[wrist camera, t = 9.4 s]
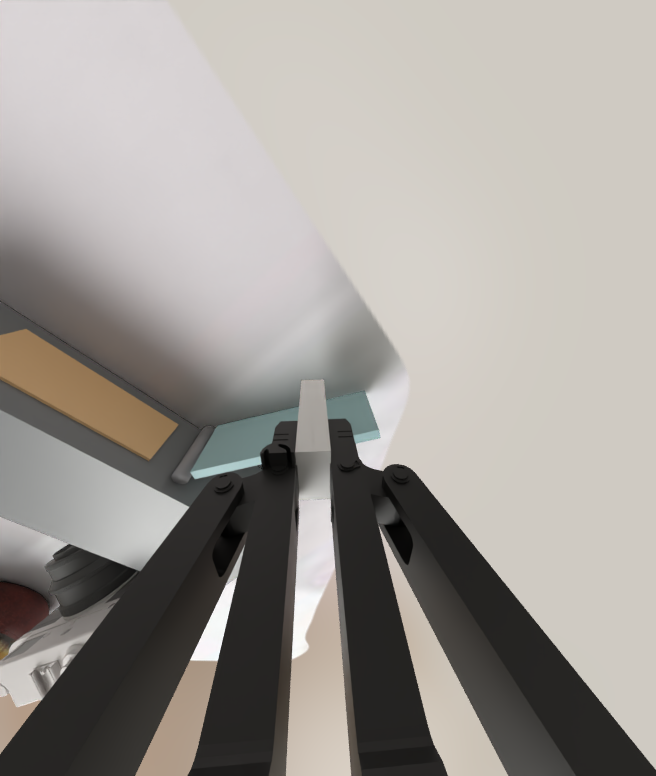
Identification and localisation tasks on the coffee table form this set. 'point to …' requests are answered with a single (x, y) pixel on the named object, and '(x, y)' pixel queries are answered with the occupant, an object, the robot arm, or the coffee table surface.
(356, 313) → the coffee table surface
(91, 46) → the coffee table surface
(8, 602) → the vase
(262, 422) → the side door
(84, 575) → the camera
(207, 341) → the coffee table surface
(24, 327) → the long gray box
